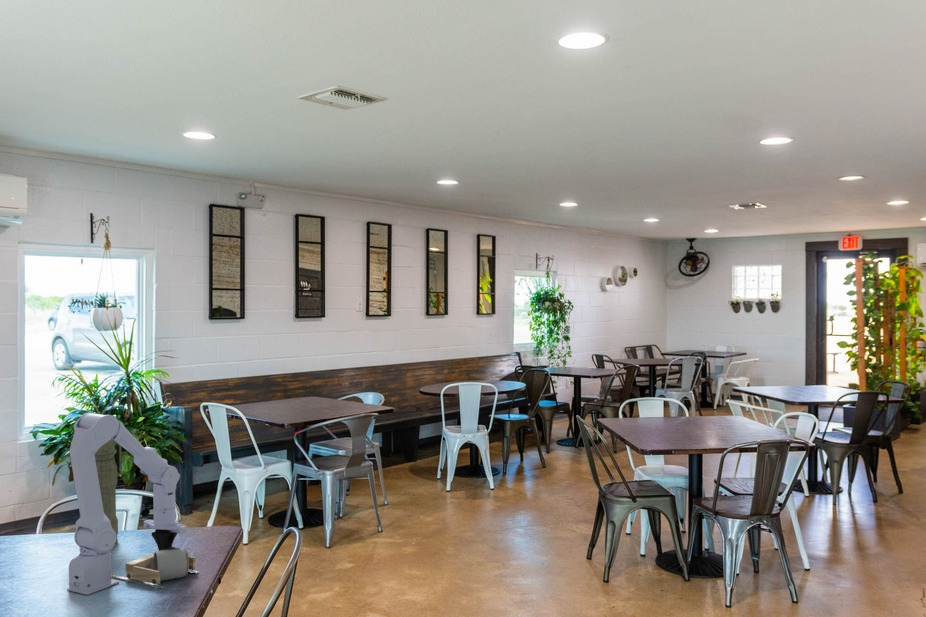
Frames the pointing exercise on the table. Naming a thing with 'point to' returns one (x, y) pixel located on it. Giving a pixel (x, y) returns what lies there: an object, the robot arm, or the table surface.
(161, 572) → the ceramic mug
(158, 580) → the tan wooden bracket
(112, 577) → the track
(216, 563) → the table surface
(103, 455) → the thermos
